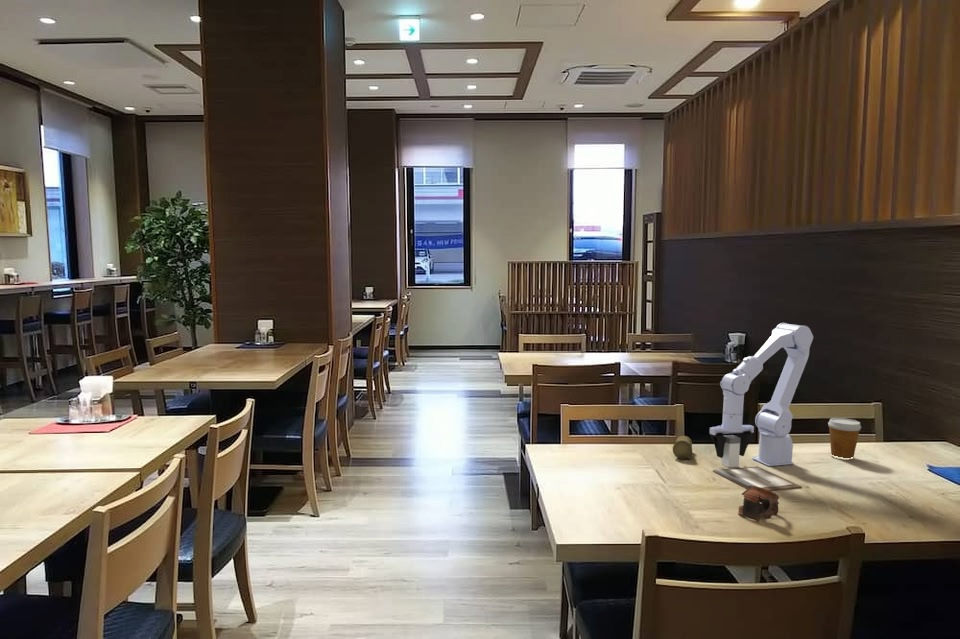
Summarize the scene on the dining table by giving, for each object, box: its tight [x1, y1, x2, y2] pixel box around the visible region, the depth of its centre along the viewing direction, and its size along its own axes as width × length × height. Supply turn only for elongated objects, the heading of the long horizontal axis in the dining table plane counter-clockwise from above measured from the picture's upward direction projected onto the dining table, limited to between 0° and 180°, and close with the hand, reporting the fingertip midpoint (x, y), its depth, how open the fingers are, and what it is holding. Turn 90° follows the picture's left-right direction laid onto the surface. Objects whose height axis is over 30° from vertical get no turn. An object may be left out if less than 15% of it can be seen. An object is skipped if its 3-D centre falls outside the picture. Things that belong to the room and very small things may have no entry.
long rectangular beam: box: [720, 434, 741, 469], centre depth 203 cm, size 4×4×9 cm
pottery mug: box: [737, 485, 780, 522], centre depth 163 cm, size 12×10×8 cm
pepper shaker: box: [672, 435, 693, 461], centre depth 213 cm, size 6×6×11 cm
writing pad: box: [712, 465, 802, 492], centre depth 191 cm, size 16×18×1 cm
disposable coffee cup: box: [827, 417, 862, 458], centre depth 214 cm, size 10×10×12 cm
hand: (730, 456), depth 203 cm, fingers open, 7 cm apart
